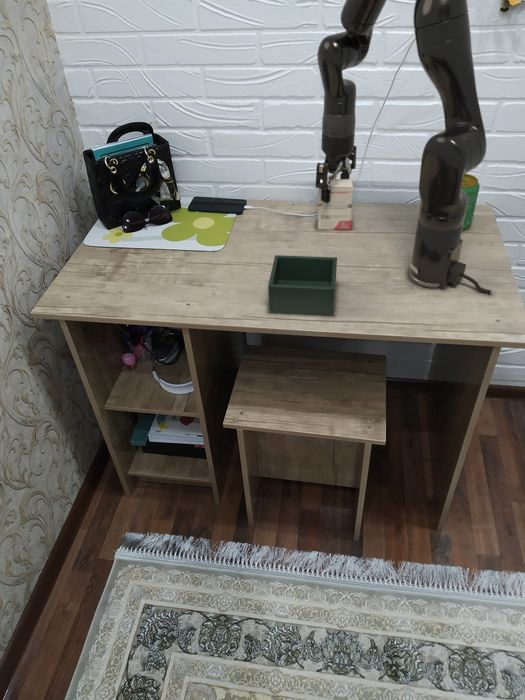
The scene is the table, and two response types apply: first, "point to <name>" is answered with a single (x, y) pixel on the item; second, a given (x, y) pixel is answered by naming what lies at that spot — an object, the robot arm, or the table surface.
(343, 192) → the ink box
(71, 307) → the table surface
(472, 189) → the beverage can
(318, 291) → the bin
